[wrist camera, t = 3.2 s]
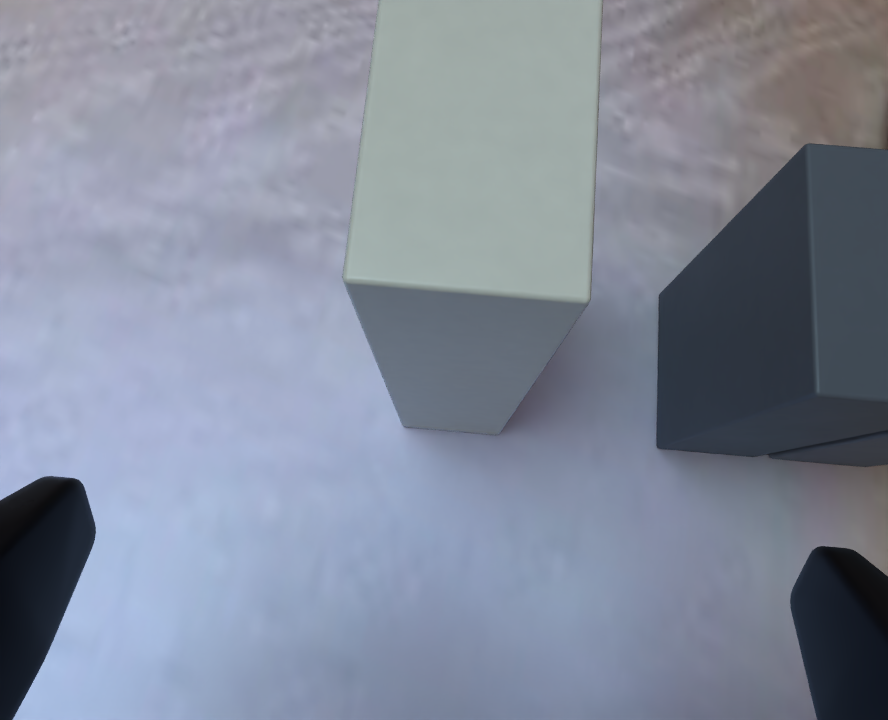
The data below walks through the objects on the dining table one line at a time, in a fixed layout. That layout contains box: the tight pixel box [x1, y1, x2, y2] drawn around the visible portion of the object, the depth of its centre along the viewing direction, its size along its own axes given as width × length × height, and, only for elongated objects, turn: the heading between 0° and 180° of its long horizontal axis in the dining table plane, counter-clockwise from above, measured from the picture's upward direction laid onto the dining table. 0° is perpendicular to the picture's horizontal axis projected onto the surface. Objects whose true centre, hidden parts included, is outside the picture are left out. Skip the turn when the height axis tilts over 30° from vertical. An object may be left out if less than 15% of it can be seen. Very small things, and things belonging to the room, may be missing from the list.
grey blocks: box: [657, 143, 888, 467], centre depth 17 cm, size 6×5×9 cm
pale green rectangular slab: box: [342, 0, 603, 435], centre depth 15 cm, size 3×5×13 cm, turn 175°
